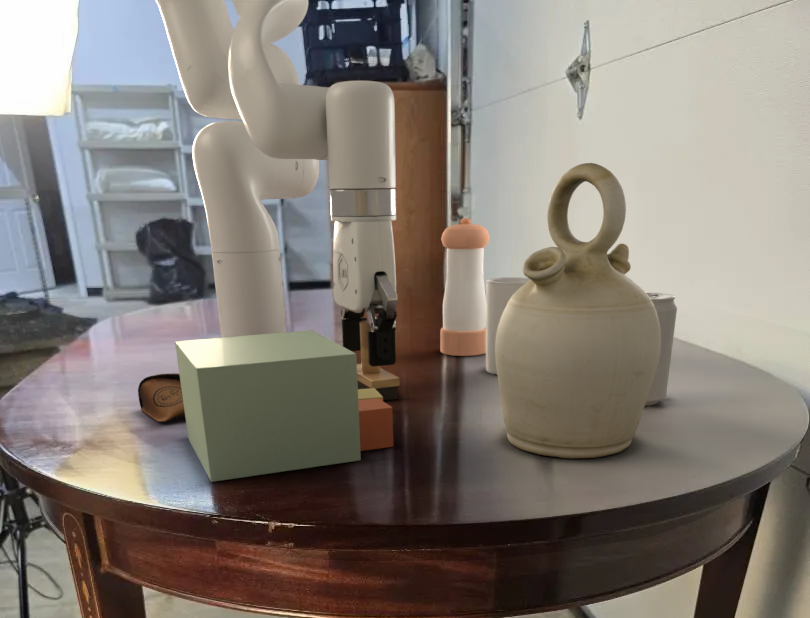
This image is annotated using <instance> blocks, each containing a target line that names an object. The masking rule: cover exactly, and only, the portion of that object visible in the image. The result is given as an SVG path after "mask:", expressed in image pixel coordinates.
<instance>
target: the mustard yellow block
mask: <svg viewBox="0 0 810 618" xmlns="http://www.w3.org/2000/svg"><path fill="white" fill-rule="evenodd" d="M376 398H379V399H380V400H382V401H383V396H382V395H381V394H380V393H379V392H378V391H377V390H376V389H375V388H369V389H358V400H367V399H376ZM383 402H384V401H383Z"/></svg>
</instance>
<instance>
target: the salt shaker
mask: <svg viewBox="0 0 810 618" xmlns="http://www.w3.org/2000/svg"><path fill="white" fill-rule="evenodd" d="M459 222H460V224H451V225H449V226H447V227H446V228H445V229H444V231H443V232H442V233H441V238H440V240H441V243H442V246H443V247H444V248H447V249H446V279H445V286H444V292H443V300H442V326H441V328H440V332H439V333H440V335H439V336H440V337H439V338H440V340H439V342H440V343H439V345H440V348H439V349H440V353H441V354H443V355H448V356H455V357H456V356H457V357H470V356H471V357H472V356H480V355H484V354H486V288H485V282H484V258H485V257H484V255H485V249H484V248H485V247H487V246H488V244H489V242H490V239H491V238H490V234H489V231H488V230H487V228H486V227H484V226H483V225H481V224H476V223H475V224H474V223H472V220H471V218H469V217H462V218H461V219H460V221H459Z"/></svg>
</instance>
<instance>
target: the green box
mask: <svg viewBox="0 0 810 618" xmlns="http://www.w3.org/2000/svg"><path fill="white" fill-rule="evenodd" d="M174 343H175V344H174V345H175V353H176V360H177V366H178V374H179V375H180V382H181V389H182V396H183V403H184V411H185V418H184V419H185V425H186V431H187V432H186V433H187V438H188V441H189V443H190V445H191V447H192V448H193V451H194V452H195V454H196V456H197V458H198V460H199V462H200V464H201V465H202V467H203V470H204V471H205V473H206V475H207V477H208V479H209V480H210V482H211V483H214V482H219V481H221V482H222V481H227V480H235V479H241V478H248V477H255V476H262V475H269V474H276V473H283V472H291V471H296V470H297V471H299V470H304V469H311V468H318V467H323V466H331V465H337V464H339V465H340V464H346V463H351V462H359V461H360V462H361V460H362V458H361V454H362V453H361V451H360V431H359V407H358V384H357V364H358V362H357V353H355V351H350V350H348V349H346V348H345V347H343V345H342V344H339V343H337V342H335V341H333V340H332V339H330V338H328V337H326V336H324V335H322V334H320V333H318V332H316V331H315V330H313V329H310V330H299V331H297V330H296V331H286V332H284V333H272V334H260V335H248V336H235V337H223V338H221V337H211V338H199V339H189V340H176V341H174Z"/></svg>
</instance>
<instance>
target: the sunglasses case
mask: <svg viewBox="0 0 810 618" xmlns="http://www.w3.org/2000/svg"><path fill="white" fill-rule="evenodd" d="M137 395H138V396H137V397H138V401H139V406H140V410H141V412H142V413H143V414H144V415H146V416H147V417H148V418H149V419H151V420H152V421H155V422H158V423H169V422H173V421H176V420H181V419H186V418H185V411H184V403H183V396H182V389H181V382H180V375H179V372H177V373H175V372H174V373H173V372H172V373H159V374H155V375H149V376H146V377H144V378H143V379H142V380H141V381H140V382H139V384H138V387H137Z"/></svg>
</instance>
